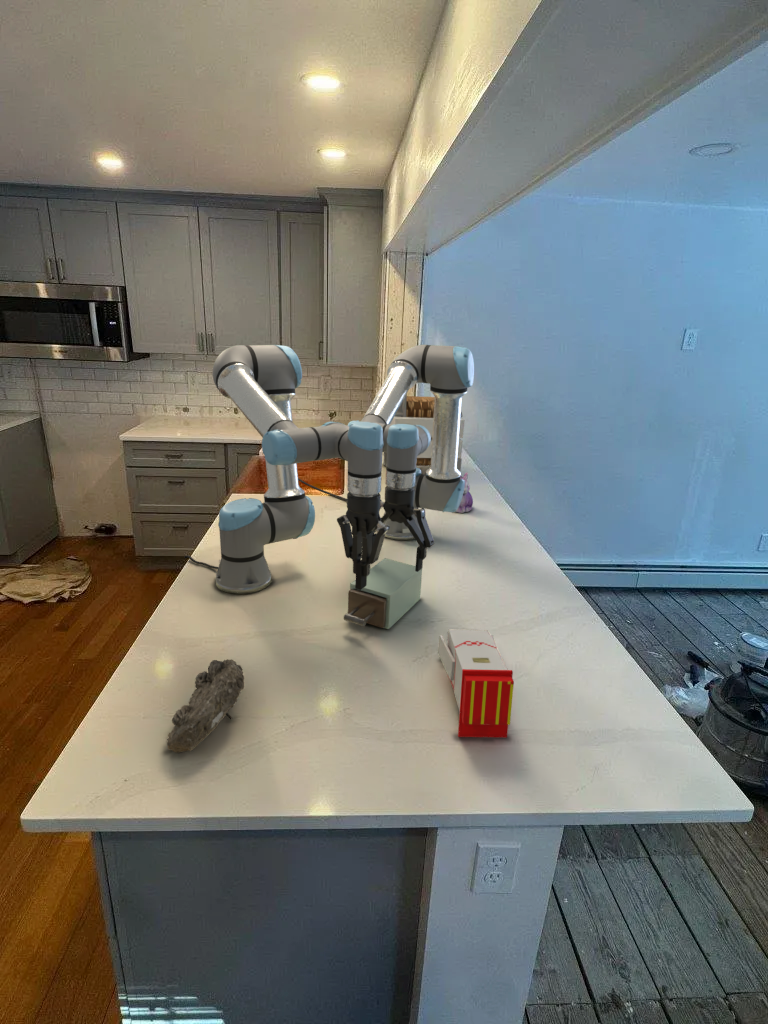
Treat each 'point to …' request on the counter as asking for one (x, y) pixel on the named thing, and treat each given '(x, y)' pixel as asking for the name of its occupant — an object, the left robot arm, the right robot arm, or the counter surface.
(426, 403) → the white storage organizer
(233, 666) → the fossil
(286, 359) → the left robot arm
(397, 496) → the right robot arm
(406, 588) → the cabinet
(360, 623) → the drawer
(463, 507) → the figurine
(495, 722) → the toy
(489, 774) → the counter surface
